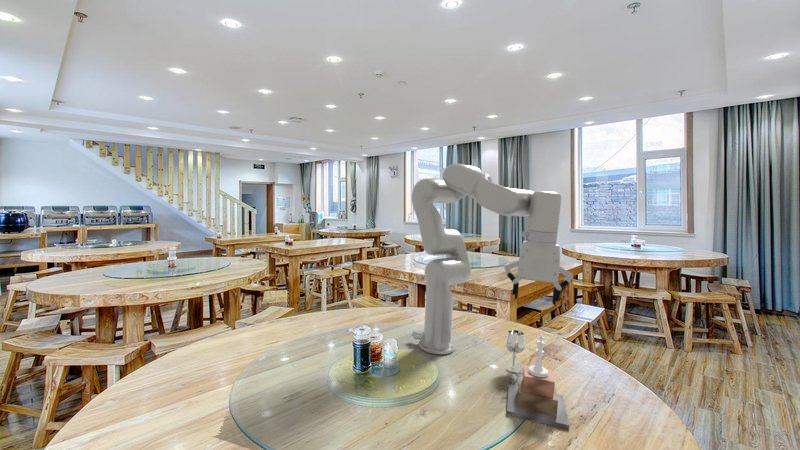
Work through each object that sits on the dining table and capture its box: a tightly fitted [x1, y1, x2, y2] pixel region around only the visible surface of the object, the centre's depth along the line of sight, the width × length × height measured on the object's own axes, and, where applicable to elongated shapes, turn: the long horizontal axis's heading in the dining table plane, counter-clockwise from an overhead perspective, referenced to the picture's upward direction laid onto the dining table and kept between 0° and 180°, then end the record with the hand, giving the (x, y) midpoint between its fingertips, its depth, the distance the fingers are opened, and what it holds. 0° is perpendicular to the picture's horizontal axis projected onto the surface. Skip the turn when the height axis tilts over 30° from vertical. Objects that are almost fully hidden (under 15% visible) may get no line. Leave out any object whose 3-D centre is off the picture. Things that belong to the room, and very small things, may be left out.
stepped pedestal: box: [506, 364, 570, 430], centre depth 92 cm, size 14×14×9 cm
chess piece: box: [528, 334, 548, 377], centre depth 91 cm, size 5×5×10 cm
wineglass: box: [505, 329, 526, 370], centre depth 112 cm, size 6×6×12 cm
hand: (534, 300), depth 96 cm, fingers open, 9 cm apart
